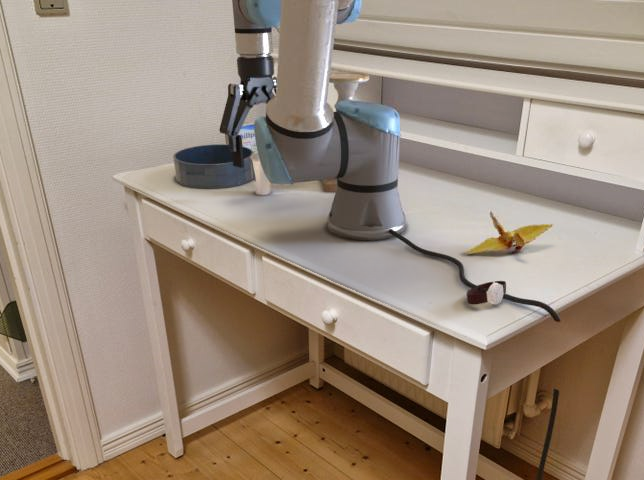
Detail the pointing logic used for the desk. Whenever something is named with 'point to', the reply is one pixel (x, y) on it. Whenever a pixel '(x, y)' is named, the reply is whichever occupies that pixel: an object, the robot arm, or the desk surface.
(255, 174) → the milkshake
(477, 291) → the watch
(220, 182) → the bowl
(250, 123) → the medicine box
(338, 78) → the candle holder
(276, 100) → the robot arm
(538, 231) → the origami crane
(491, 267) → the desk surface
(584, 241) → the desk surface
